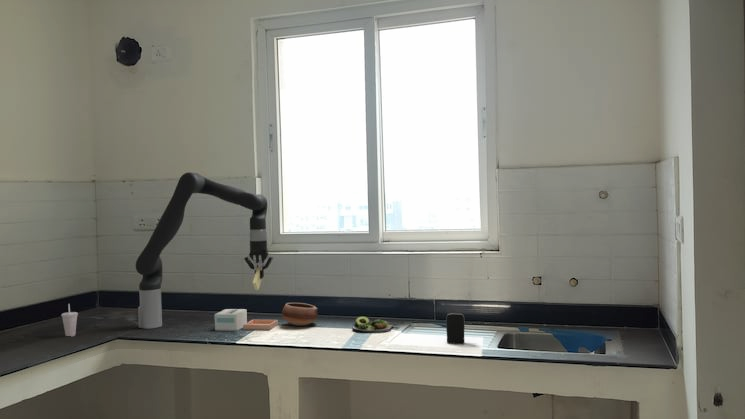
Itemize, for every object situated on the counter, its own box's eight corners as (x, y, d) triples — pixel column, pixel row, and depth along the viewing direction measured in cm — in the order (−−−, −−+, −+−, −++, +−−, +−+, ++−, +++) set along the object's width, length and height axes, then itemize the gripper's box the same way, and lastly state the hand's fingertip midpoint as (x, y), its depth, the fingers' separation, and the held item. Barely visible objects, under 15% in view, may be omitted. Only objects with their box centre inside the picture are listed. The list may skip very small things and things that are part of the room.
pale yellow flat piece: (252, 282, 261) (257, 267, 268) (255, 290, 265) (260, 274, 271) (255, 282, 261) (260, 267, 268) (258, 290, 264) (263, 274, 271)
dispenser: (214, 330, 264) (214, 313, 264) (226, 324, 276) (225, 308, 276) (236, 330, 263) (236, 313, 262) (246, 324, 275) (246, 308, 274)
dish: (243, 329, 264) (243, 324, 264) (252, 324, 275) (252, 319, 275) (269, 330, 262) (269, 325, 262) (277, 324, 273) (277, 319, 273)
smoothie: (60, 338, 257) (59, 305, 256) (64, 334, 263) (62, 302, 263) (77, 336, 259) (75, 304, 258) (80, 333, 265) (78, 301, 264)
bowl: (321, 327, 266) (321, 304, 266) (287, 330, 260) (286, 307, 260) (312, 320, 281) (311, 298, 280) (278, 323, 275) (278, 301, 274)
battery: (465, 341, 234) (464, 312, 234) (464, 344, 230) (464, 314, 230) (447, 341, 236) (446, 312, 235) (446, 343, 232) (445, 314, 232)
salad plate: (399, 324, 269) (398, 314, 269) (396, 333, 251) (396, 322, 251) (355, 324, 271) (355, 314, 271) (350, 334, 253) (350, 323, 253)
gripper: (240, 240, 265) (241, 279, 265) (270, 240, 262) (271, 279, 263) (246, 239, 272) (248, 277, 272) (275, 238, 270) (276, 277, 270)
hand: (259, 278), depth 268 cm, fingers closed on pale yellow flat piece, 1 cm apart
